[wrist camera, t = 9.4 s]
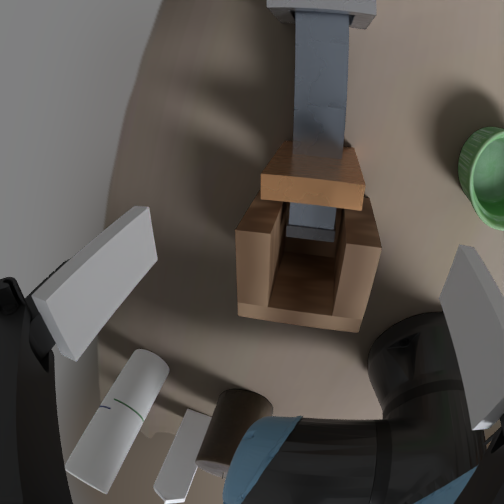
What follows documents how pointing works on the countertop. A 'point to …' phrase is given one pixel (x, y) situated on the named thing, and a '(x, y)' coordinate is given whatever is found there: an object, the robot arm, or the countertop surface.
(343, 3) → the sleeve
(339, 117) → the brown and grey block
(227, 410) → the pillar candle
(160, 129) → the countertop surface
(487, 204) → the ramekin
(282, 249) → the socket
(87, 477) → the cylindrical container
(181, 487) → the milk
